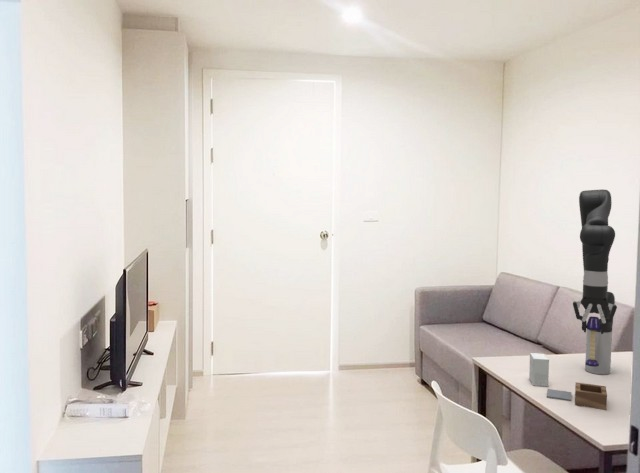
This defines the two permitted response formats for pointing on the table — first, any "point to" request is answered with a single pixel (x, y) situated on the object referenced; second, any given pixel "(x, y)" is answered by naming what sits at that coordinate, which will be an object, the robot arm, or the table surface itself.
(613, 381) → the table surface
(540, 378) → the small box
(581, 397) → the wooden cube shelf
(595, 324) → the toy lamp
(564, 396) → the slate pad
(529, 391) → the table surface
